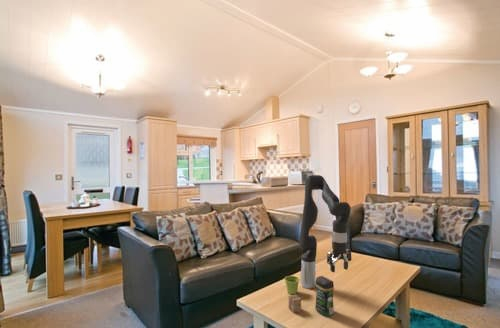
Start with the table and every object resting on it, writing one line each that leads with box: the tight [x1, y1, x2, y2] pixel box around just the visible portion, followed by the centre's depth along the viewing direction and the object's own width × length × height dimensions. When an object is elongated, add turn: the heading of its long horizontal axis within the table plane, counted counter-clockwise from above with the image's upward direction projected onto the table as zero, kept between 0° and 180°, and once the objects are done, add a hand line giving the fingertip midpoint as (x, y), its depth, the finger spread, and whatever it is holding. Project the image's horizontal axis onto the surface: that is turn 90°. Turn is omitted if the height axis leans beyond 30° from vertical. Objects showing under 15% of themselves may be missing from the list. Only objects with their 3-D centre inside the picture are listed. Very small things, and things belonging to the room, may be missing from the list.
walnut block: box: [288, 294, 302, 314], centre depth 151 cm, size 5×5×7 cm
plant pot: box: [284, 275, 301, 295], centre depth 171 cm, size 9×9×9 cm
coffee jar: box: [315, 275, 335, 317], centre depth 149 cm, size 10×8×19 cm
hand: (339, 270), depth 143 cm, fingers open, 8 cm apart
